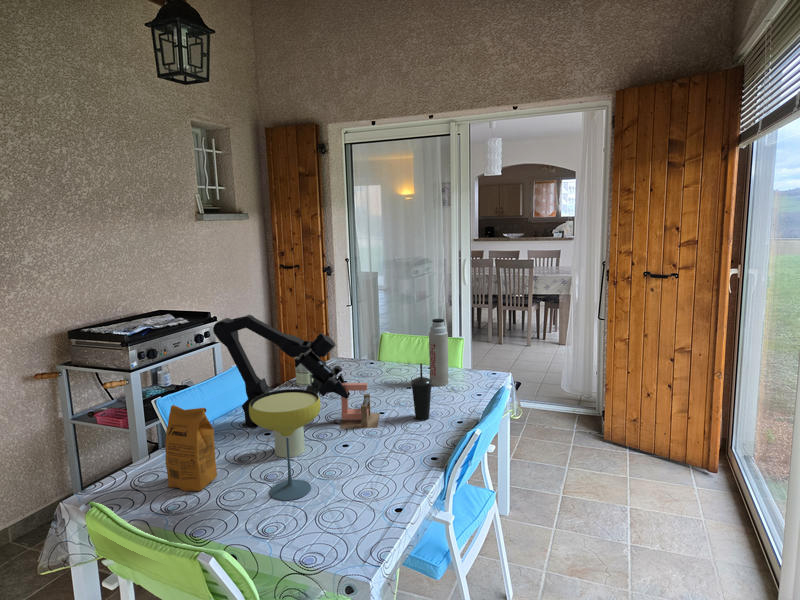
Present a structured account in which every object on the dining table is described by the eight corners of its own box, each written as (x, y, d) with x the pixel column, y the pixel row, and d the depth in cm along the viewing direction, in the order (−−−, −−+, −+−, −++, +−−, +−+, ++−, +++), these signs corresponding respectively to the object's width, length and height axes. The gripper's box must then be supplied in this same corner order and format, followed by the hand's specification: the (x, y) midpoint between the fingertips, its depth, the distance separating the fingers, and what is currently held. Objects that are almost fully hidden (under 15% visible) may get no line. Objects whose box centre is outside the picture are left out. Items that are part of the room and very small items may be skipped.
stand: (339, 430, 180) (338, 407, 179) (344, 414, 194) (343, 393, 193) (377, 429, 180) (376, 406, 179) (380, 414, 194) (379, 393, 193)
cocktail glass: (242, 491, 141) (235, 401, 137) (300, 467, 154) (294, 384, 150) (279, 517, 128) (272, 418, 125) (338, 489, 141) (334, 398, 137)
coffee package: (187, 471, 153) (180, 398, 150) (223, 477, 149) (216, 402, 146) (161, 488, 144) (153, 410, 141) (198, 495, 140) (190, 415, 137)
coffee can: (299, 379, 239) (297, 349, 237) (322, 379, 238) (320, 348, 236) (293, 386, 229) (291, 354, 227) (316, 386, 228) (314, 354, 226)
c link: (341, 419, 184) (340, 386, 183) (343, 414, 189) (342, 381, 188) (367, 419, 184) (366, 386, 182) (368, 414, 189) (367, 381, 187)
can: (275, 459, 159) (273, 421, 158) (274, 447, 168) (271, 411, 166) (306, 455, 162) (304, 417, 160) (303, 443, 171) (301, 407, 169)
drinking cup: (431, 422, 185) (430, 366, 182) (409, 421, 186) (408, 366, 183) (434, 414, 192) (433, 360, 189) (413, 413, 194) (412, 360, 190)
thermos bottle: (435, 387, 223) (434, 321, 218) (426, 382, 230) (425, 318, 225) (451, 384, 226) (451, 319, 222) (442, 379, 233) (441, 316, 229)
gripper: (305, 374, 195) (336, 403, 196) (294, 390, 176) (328, 422, 178) (326, 353, 193) (357, 382, 195) (316, 367, 175) (351, 399, 176)
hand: (348, 396), depth 186 cm, fingers closed on c link, 2 cm apart
